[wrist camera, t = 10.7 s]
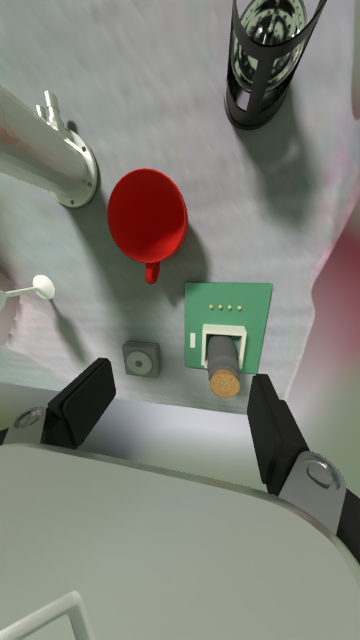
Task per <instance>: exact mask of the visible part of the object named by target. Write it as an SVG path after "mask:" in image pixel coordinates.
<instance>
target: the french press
mask: <svg viewBox="0 0 360 640" xmlns="http://www.w3.org/2000/svg"><path fill="white" fill-rule="evenodd" d="M326 1H327V0H320V2H319V4H318V7H317V9H316V11H315V14H314V16H313V18H312V19H311V21H310V22H309V23H308V24H307V15H306V9H305V6H304V3H303V0H252V1H251V2H250V3H249V5H248V6H247V8H246V9H245V11H244V12H243V14H242V16H241V18H240V19H239V16H238V11H237V6H236V0H233V7H232V20H231V33H230V46H229V58H228V71H227V80H226V85H225V91H224V105H225V109H226V113H227V115H228V118H229V119H230V121H231V122H232V124H234V125H235V126H236V127H237V128H240V129H242V130H254V129H257V128H260V127H261V126H263V125H265V124H266V123H267V122H269V121H270V120H271V119H272V118H273V117H274V115H275V114H276V113H277V112H278V110H279V108H280V107H281V105H282V103H283V101H284V99H285V97H286V93H287V90H288V87H289V84H290V82H291V80H292V77H293V75H294V73H295V71H296V68H297V66H298V64H299V62H300V59H301V57H302V55H303V53H304V50H305V48H306V46H307V44H308V42H309V39H310V37H311V35H312V33H313V30H314V28H315V26H316V24H317V21H318V19H319V17H320V15H321V12H322V10H323V8H324V6H325V4H326ZM234 30H235V33H234V36H233V32H234ZM235 79H236V80H237V82H238V84H239V85H240V87H241V88H242V89H243V90H245V91H246V92H248V93H250V98H249V102H248V106H247V111H245V110H243V109H241V108H240V107H239V106H238V105H237V104H236V103H235V102H234V100H233V86H234V82H235ZM279 84H280V86H279V91H278V94H277V96H276V98H275V100H274V102H273V103H272V105H270V106H269V107H267V108H265V109H263V110H260V111H259V109H260V106H261V103H262V100H263V96H264V94H265V93H267V92H269V91H271V90H272V89H274V88H275V87H277V86H278V85H279Z"/></svg>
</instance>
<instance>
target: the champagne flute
mask: <svg viewBox="0 0 360 640" xmlns="http://www.w3.org/2000/svg"><path fill="white" fill-rule="evenodd" d="M33 286H34V287H31V288H26V289H20V290H15V291H9V292H2V291H1V290H0V310H2V308H3V307H4V305H5V302H6V298H7V297H12V296H16V295H21V294H26V293H31V292H36V293H37V294H38V295H39V296H40V297H42V298H44V299H51V298H53V297H54V295H55V288H54V285H53V283H52V282H51V281H50V279H48V278H47V277H46V276H43V275H37V276H36V277H35V278H34V280H33Z"/></svg>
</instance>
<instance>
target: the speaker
mask: <svg viewBox="0 0 360 640" xmlns="http://www.w3.org/2000/svg"><path fill="white" fill-rule="evenodd" d="M122 349H123V356H124V362H125V369H126V374H128V375H137V376H145V377H154V378H157V377H158V375H159V372H160V362H159V346H158V343H146V342H134V341H127V342H126V343H125V344H124V345H123V346H122Z"/></svg>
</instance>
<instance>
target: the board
mask: <svg viewBox="0 0 360 640" xmlns="http://www.w3.org/2000/svg"><path fill="white" fill-rule="evenodd" d="M272 286H273V284H271V283H220V282H185V367H194V368H204V369H207V359H208V343H209V338H210V336H211V335H212V334H221V335H231V337H232V338H233V341H234V345H235V349H236V354H237V358H238V362H239V368H240V369H239V372H244V373H254V374H257V369H258V363H259V358H260V352H261V347H262V341H263V336H264V330H265V325H266V319H267V314H268V308H269V302H270V297H271V291H272Z"/></svg>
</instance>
